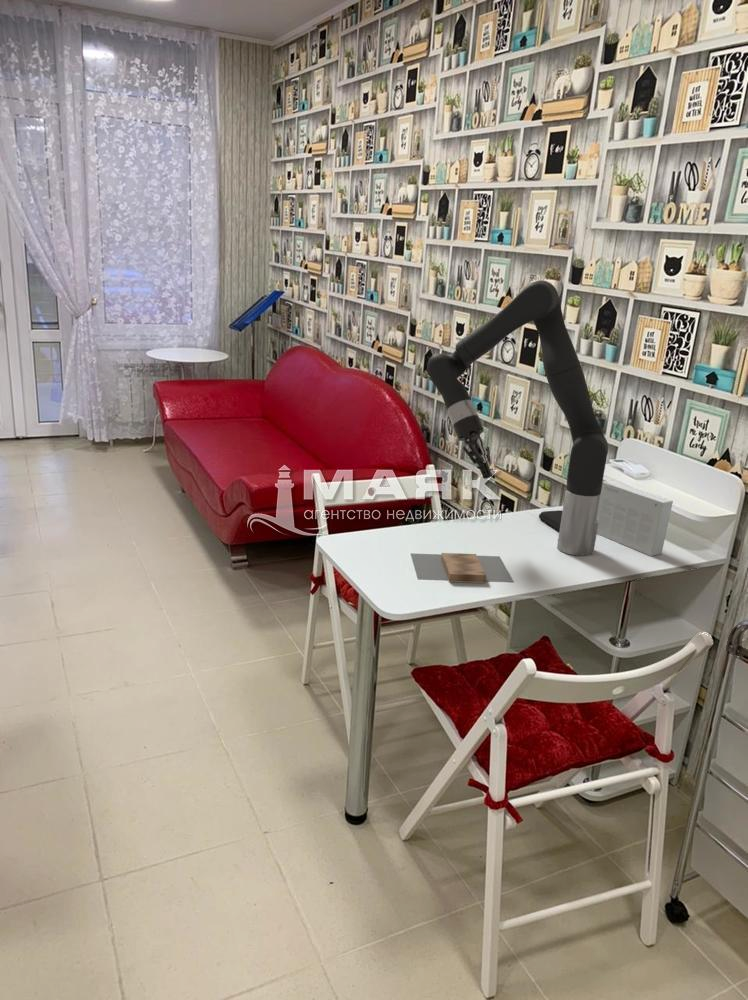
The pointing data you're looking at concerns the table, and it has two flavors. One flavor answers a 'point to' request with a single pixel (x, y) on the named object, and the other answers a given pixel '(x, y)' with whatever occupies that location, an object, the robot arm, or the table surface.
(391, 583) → the table surface
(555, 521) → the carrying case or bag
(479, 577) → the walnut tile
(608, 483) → the skincare box
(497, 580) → the charcoal mat
